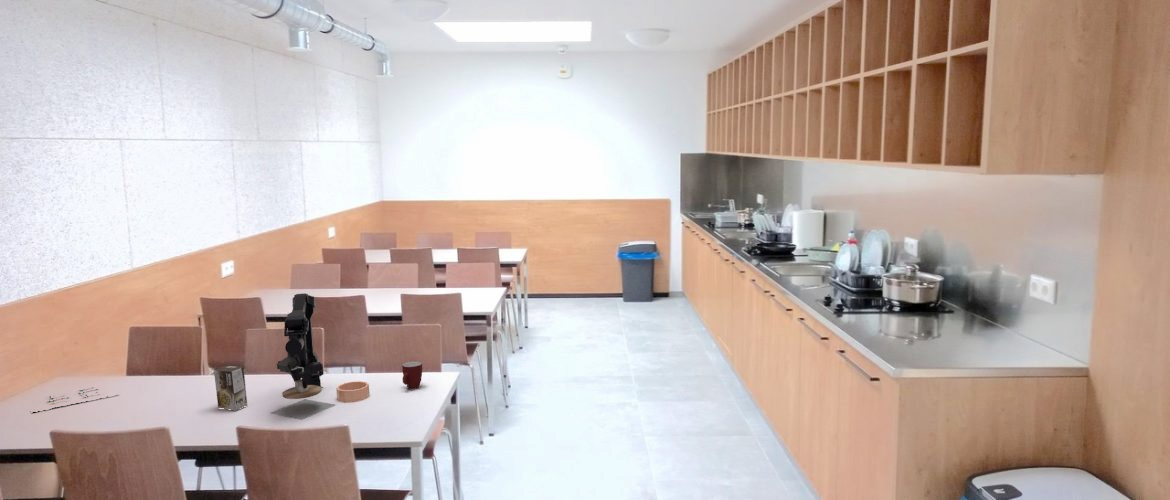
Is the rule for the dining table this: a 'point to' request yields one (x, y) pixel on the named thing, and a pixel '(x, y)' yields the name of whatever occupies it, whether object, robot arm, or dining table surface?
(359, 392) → the bowl
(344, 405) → the dining table surface
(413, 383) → the mug
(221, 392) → the coffee box
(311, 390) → the lid
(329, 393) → the dining table surface
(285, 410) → the mat
